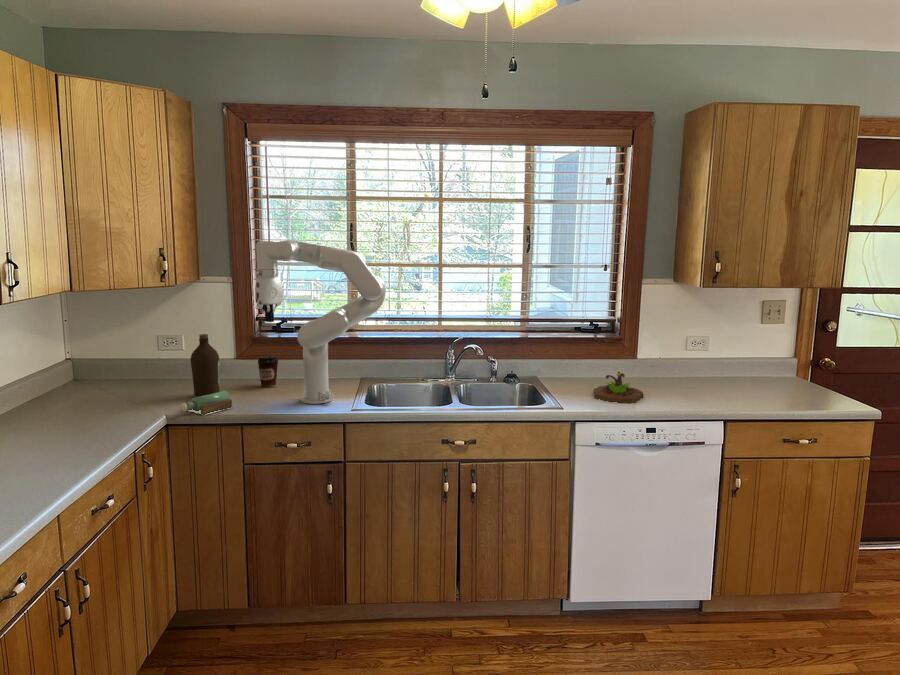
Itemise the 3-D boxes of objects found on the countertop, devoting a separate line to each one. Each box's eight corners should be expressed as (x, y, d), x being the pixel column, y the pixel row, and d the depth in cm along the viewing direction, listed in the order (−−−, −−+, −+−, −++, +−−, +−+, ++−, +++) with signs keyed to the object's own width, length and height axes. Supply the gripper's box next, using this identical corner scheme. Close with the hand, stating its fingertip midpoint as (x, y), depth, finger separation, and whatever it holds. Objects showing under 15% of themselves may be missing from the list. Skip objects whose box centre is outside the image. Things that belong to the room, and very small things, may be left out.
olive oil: (198, 401, 249) (194, 337, 245) (189, 395, 257) (185, 334, 253) (225, 396, 256) (221, 335, 251) (215, 391, 264) (212, 331, 260)
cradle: (232, 408, 240) (231, 399, 239) (203, 416, 230) (203, 406, 229) (214, 403, 246) (213, 394, 245) (185, 410, 236) (185, 401, 236)
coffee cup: (275, 389, 268) (274, 358, 266) (256, 388, 269) (254, 358, 266) (281, 384, 277) (280, 354, 275) (262, 383, 277) (261, 354, 275)
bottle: (228, 390, 242) (185, 400, 228) (230, 403, 243) (187, 414, 228) (220, 390, 245) (177, 400, 231) (222, 403, 246) (179, 414, 231)
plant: (588, 400, 256) (590, 373, 254) (596, 389, 274) (597, 363, 272) (640, 406, 249) (642, 378, 247) (644, 394, 267) (646, 368, 265)
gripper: (258, 275, 235) (260, 325, 239) (289, 273, 247) (291, 320, 251) (245, 274, 240) (247, 323, 243) (276, 272, 252) (278, 318, 255)
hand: (269, 321), depth 247 cm, fingers closed
